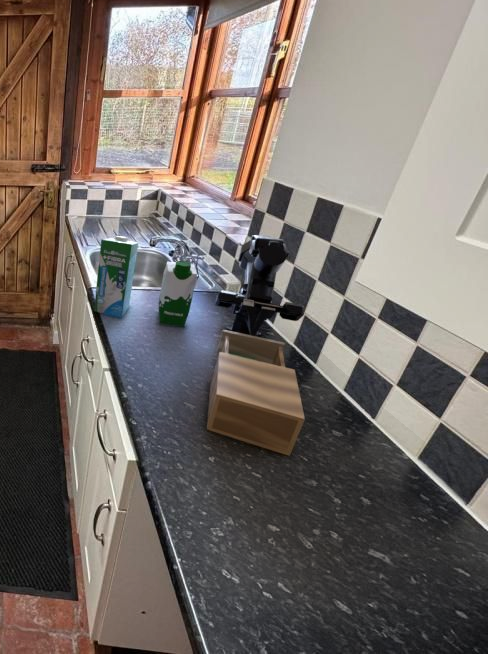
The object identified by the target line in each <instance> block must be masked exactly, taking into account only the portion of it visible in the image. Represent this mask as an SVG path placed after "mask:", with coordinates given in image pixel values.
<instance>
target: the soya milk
mask: <svg viewBox="0 0 488 654" xmlns="http://www.w3.org/2000/svg"><path fill="white" fill-rule="evenodd" d="M162 276H163V277H162V281H161V286H160V290H159V298H158V320H159V324H160V325H166V326H173V327H178V328H179V327H180V328H185V326H186V324H187V323H186V322H187V320H188V316H189V313H190V311H191V310H190V309H191V305H192V301H193V296H194V292H195V287H196V281H197V277H198V272H197V269H196V266H195V264H194V263H190V262H189V261H184V260H178V261H166V265H165V268H164V270H163V274H162Z"/></svg>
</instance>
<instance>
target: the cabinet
mask: <svg viewBox="0 0 488 654" xmlns="http://www.w3.org/2000/svg"><path fill="white" fill-rule="evenodd" d="M305 418H306V417H305V414H304V409H303V403H302V398H301V394H300V389H299V384H298V379H297V374H296V370H295V369H293V368H290V367H286V366H285V367H281V366H277V365H273V364H269V363H264V362H260V361H256V360H252V359H248V358H244V357H239V356H235V355H231V354H227V353H223V352H219V355H218V356H217V359H216V362H215V367H214V369H213V374H212V377H211V381H210V388H209V401H208V410H207V423H206V430H207V431H210V432H213V433H216V434H218V435H219V434H220V435H223V436H226V437H229V438H232V439H236V440H238V441H242V442H244V443H248V444H252V445H254V446H258V447H259V448H264V449H267V450H270V451H273V452H275V453H278V454H282V455H285V456H287V457H288V456H289V457H290V456H291V453H292V451H293V450H294V446H295V444H296V441H297V439H298V437H299V434H300V432H301V429H302V427H303V424H304V422H305Z"/></svg>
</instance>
